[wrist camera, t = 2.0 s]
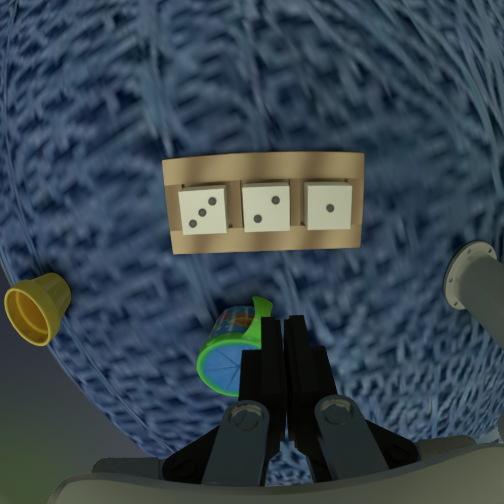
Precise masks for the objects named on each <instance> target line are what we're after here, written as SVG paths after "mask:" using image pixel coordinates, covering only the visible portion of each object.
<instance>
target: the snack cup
mask: <svg viewBox="0 0 504 504" xmlns="http://www.w3.org/2000/svg"><path fill="white" fill-rule="evenodd" d="M252 299H253V301H254V307H252V306H233V307H231V308H227V309H226V310H224V311H223V312H222V314H221V315H220V316H219V317H218V319H217V321H216V323H215V325H214V327H213V329H212V331H211V334H210V336H209V338H208V340H207V342H206V343H205V344H204V345H203V347H202V348H201V350H200V351H199V354H198V358H197V366H196V369H197V372H198V374H199V376H200V377H201V379H202V380H203V381H204V383H205V384H207V385H208V386H209V387H210V388H212V389H214V390H215V392H218V393H221V394H224V395H229V396H239V382H240V368H241V354H242V350H252V349H261V317H268V316H270V315H271V310H272V307H273V305H272V303H271V302H270V301H268V300H266V299H264V298H261V297H258V296H253V297H252Z"/></svg>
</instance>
